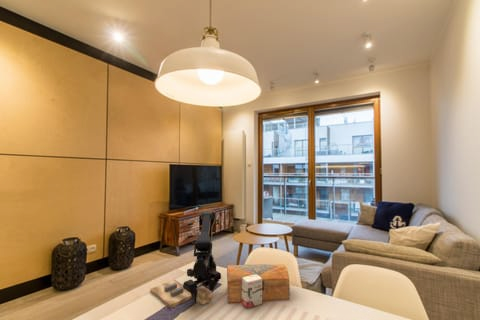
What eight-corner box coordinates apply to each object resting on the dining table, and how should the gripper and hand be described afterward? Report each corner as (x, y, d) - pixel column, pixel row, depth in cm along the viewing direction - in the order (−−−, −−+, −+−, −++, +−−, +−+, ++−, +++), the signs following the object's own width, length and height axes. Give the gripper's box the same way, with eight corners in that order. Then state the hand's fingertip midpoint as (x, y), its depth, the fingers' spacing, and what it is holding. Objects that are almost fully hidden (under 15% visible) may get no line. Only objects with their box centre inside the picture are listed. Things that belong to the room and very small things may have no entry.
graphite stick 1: (175, 286, 121) (175, 282, 121) (177, 288, 120) (177, 284, 120) (164, 291, 117) (164, 286, 117) (166, 292, 116) (166, 288, 116)
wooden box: (227, 305, 108) (227, 274, 109) (227, 287, 125) (227, 260, 125) (290, 303, 110) (290, 273, 110) (282, 285, 126) (282, 259, 127)
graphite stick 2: (181, 290, 117) (181, 286, 117) (183, 292, 116) (183, 288, 116) (170, 295, 113) (170, 291, 113) (172, 297, 112) (172, 293, 112)
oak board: (174, 282, 129) (174, 279, 129) (195, 296, 115) (196, 293, 115) (150, 291, 119) (150, 288, 119) (170, 308, 105) (170, 305, 105)
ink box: (246, 308, 104) (246, 282, 105) (241, 303, 109) (241, 277, 109) (262, 303, 108) (262, 278, 108) (257, 298, 112) (257, 273, 113)
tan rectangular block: (202, 296, 116) (202, 285, 116) (211, 301, 111) (211, 291, 111) (194, 300, 112) (194, 289, 112) (203, 306, 107) (203, 295, 107)
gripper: (208, 255, 124) (207, 285, 124) (176, 266, 111) (176, 299, 110) (221, 261, 116) (221, 293, 116) (190, 273, 103) (189, 309, 103)
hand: (202, 298), depth 111 cm, fingers open, 9 cm apart
